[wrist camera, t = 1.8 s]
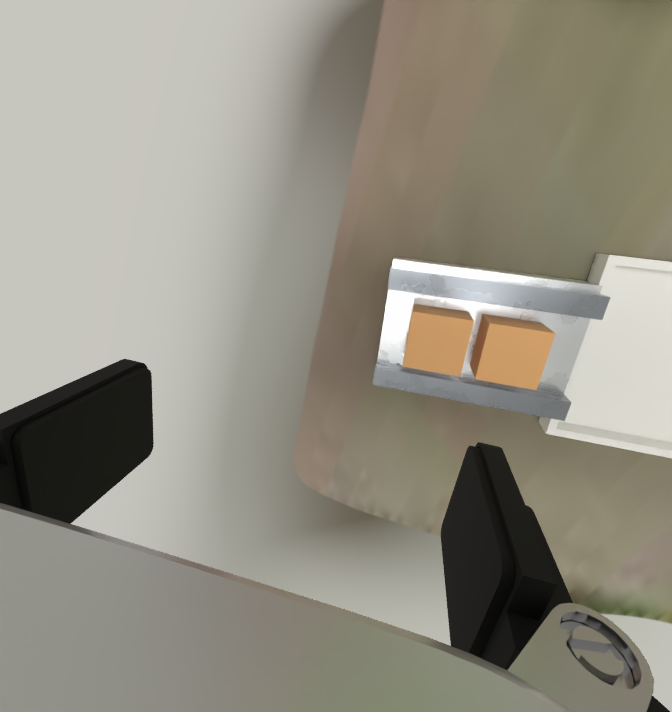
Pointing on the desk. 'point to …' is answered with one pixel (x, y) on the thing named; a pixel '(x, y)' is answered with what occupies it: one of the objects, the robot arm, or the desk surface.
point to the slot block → (478, 296)
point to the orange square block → (511, 351)
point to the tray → (624, 361)
